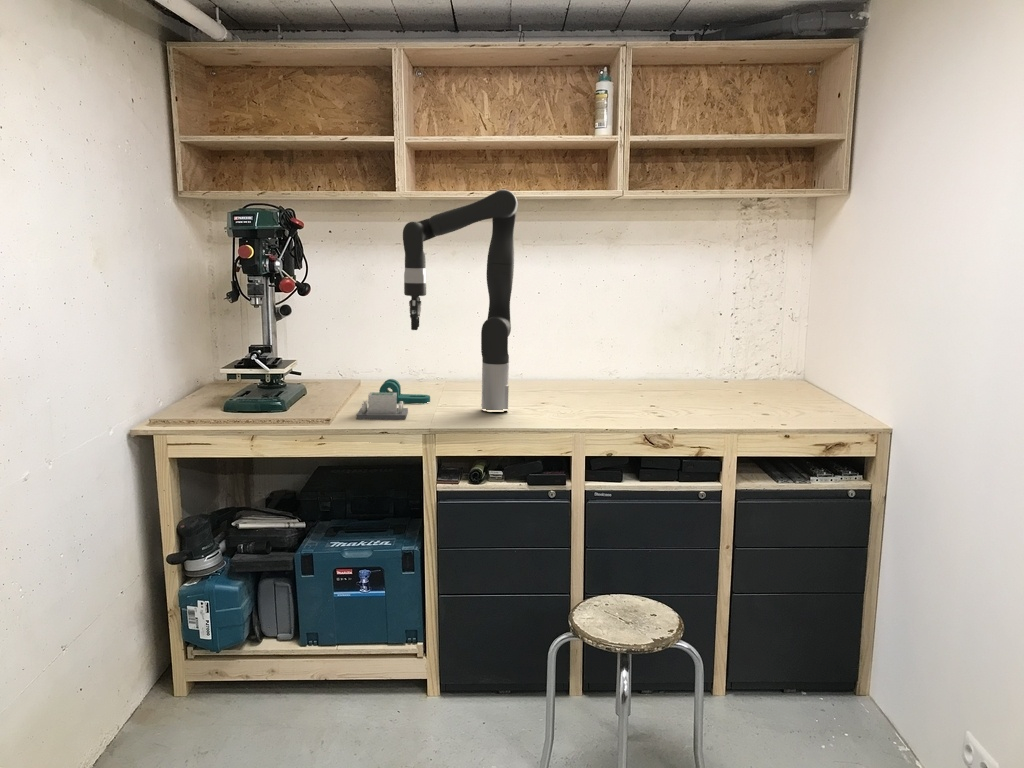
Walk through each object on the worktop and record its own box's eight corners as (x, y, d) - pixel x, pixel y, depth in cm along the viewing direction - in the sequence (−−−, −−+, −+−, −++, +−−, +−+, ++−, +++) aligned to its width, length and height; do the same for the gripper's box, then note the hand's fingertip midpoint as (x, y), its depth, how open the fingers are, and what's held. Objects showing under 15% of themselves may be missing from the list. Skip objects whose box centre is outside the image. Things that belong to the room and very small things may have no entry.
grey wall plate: (408, 412, 236) (407, 399, 235) (405, 419, 226) (405, 406, 225) (360, 411, 234) (360, 399, 234) (356, 419, 225) (356, 405, 224)
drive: (397, 409, 232) (396, 392, 231) (395, 413, 228) (395, 395, 227) (370, 409, 232) (369, 391, 230) (368, 412, 227) (368, 394, 226)
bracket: (379, 403, 248) (379, 382, 247) (382, 399, 255) (382, 378, 253) (429, 404, 249) (429, 383, 247) (430, 400, 255) (431, 379, 254)
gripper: (425, 282, 228) (425, 331, 231) (427, 280, 242) (427, 326, 245) (402, 282, 228) (402, 330, 231) (405, 280, 241) (406, 326, 245)
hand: (415, 328), depth 238 cm, fingers open, 8 cm apart
